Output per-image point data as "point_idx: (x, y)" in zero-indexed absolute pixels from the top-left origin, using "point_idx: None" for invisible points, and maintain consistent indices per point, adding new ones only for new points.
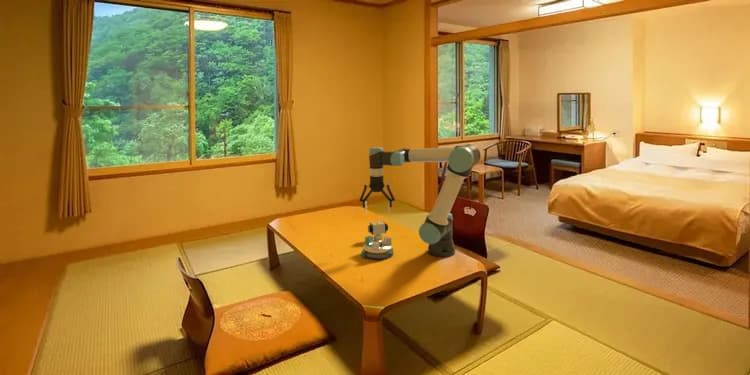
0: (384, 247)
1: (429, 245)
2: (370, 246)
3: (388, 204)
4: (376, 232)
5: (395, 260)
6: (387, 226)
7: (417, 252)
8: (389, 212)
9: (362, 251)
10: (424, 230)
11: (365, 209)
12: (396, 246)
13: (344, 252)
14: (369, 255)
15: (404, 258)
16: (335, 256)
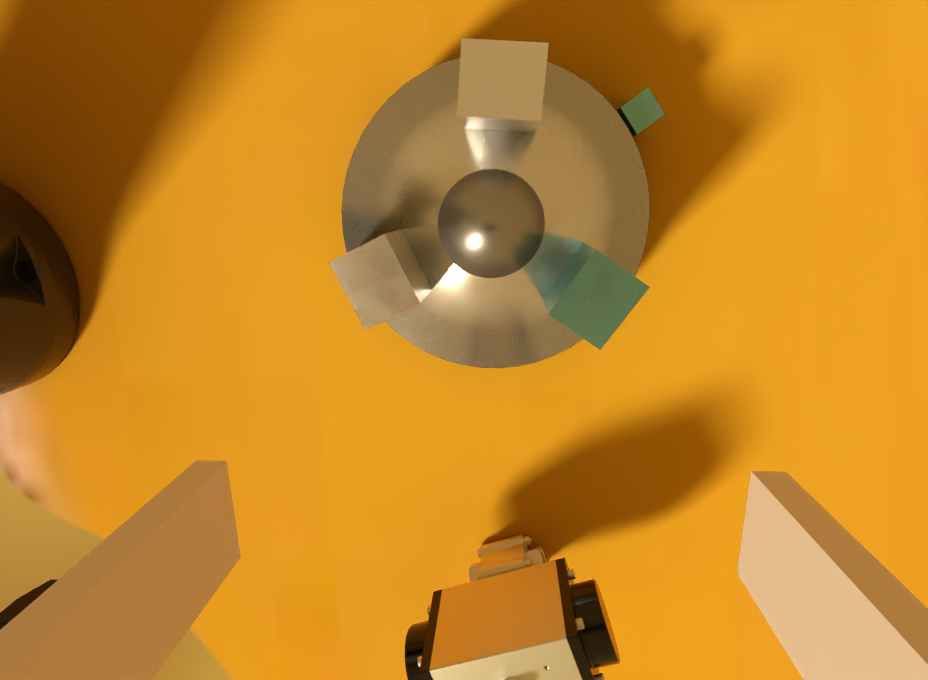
0: (417, 169)
1: (16, 295)
2: (570, 198)
3: (36, 634)
4: (523, 580)
5: (326, 73)
6: (409, 651)
7: (161, 276)
8: (186, 474)
9: (652, 104)
10: None
11: (844, 540)
12: (347, 415)
13: (812, 272)
14: None
15: (252, 128)
16: (906, 163)
